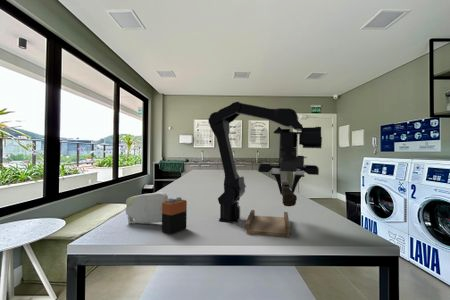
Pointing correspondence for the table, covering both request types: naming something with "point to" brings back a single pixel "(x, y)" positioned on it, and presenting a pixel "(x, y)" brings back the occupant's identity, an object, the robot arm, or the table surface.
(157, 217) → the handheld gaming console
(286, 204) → the hand tool
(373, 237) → the table surface
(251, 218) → the tool cradle
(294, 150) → the robot arm
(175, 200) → the battery
